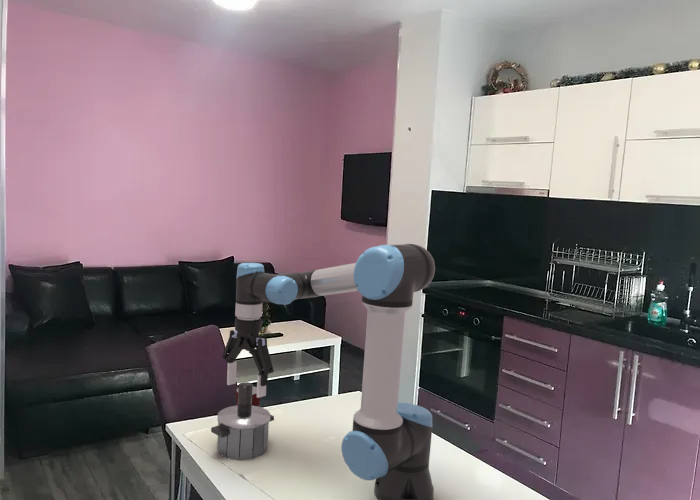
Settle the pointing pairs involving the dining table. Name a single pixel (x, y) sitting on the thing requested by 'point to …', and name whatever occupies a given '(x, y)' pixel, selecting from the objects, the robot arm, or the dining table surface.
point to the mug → (254, 397)
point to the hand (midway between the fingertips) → (245, 390)
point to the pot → (242, 441)
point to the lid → (244, 411)
